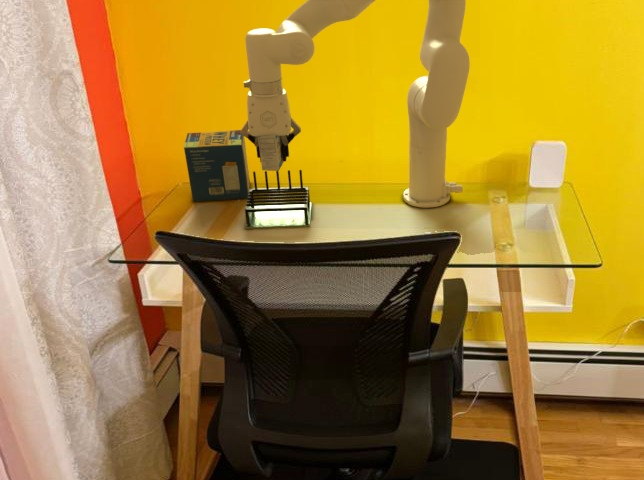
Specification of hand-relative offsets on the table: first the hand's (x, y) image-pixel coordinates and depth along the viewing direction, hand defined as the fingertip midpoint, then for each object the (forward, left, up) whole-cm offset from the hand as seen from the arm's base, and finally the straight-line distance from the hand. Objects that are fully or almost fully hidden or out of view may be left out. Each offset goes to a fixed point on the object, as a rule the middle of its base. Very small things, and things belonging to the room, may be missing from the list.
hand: (273, 159), depth 195 cm
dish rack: (0, 0, -16) cm, 16 cm away
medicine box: (0, 0, -2) cm, 2 cm away
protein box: (+17, -16, -16) cm, 28 cm away
